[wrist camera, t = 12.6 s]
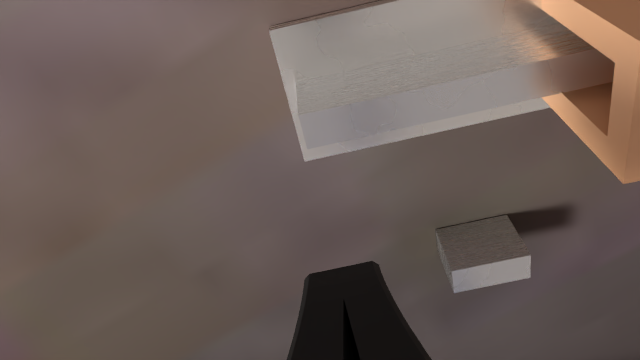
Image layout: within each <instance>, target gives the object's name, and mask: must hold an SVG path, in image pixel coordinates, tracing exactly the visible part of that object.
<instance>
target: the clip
mask: <svg viewBox="0 0 640 360" xmlns="http://www.w3.org/2000/svg"><path fill="white" fill-rule="evenodd" d="M541 9H542V10H543V11H545V12H546V13H547V14H549V15H550V16H551V17H553V18H554V19H556V20H557V21H558V22H560V23H561V24H562V25H564V26H565V27H567V28H568V29H569V30H571V31H572V32H573V33H575V34H576V35H578V36H579V37H580V38H582V39H583V40H584V41H586V42H587V43H589V44H590V45H591V46H593V47H594V48H595V49H597V50H598V51H600V52H601V53H602V54H604V55H605V56H606V57H608V58H609V59H611V60H612V61H613V62H615V68H614V77H613V82H609V83H605V84H600V85H596V86H591V87H587V88H582V89H578V90H573V91H569V92H564V93H559V94H555V95H550V96H546V97H542V99H543V100H544V101H545V102H546V103H547V104H548V105H549V106H550V107H551V108H552V109H553V110H554V111H555V112H556V113H557V114H558V115H559V116H560V118H561V119H562V120H563V121H564V122H565V123H566V124H567V125H568V126H569V127H570V128H571V129H572V130H573V131H574V132H575V133H576V134H577V135H578V137H579V138H580V139H581V140H582V141H583V142H584V143H585V144H586V145H587V146H588V147H589V148H590V149H591V150H592V151H593V152H594V153H595V154H596V156H597V157H598V158H599V159H600V160H601V161H602V162H603V163H604V164H605V165H606V166H607V167H608V168H609V169H610V170H611V171H612V172H613V173H614V174H615V176H616V177H617V178H618V179H619V180H620V181H621V182H622V183H623V184H626V183H631V182H635V181H640V0H542V5H541Z"/></svg>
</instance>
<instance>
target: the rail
mask: <svg viewBox="0 0 640 360" xmlns="http://www.w3.org/2000/svg"><path fill="white" fill-rule="evenodd" d="M541 5H542V0H381V1H376V2H372V3H368V4H364V5H359V6H355V7H351V8H347V9H342V10H338V11H334V12H330V13H326V14H321V15H317V16H313V17H309V18H304V19H300V20H296V21H292V22H287V23H283V24H279V25H275V26H270V27H269V32H270V36H271V40H272V43H273V47H274V51H275V54H276V58H277V62H278V65H279V69H280V73H281V76H282V80H283V84H284V87H285V91H286V95H287V98H288V102H289V106H290V109H291V113H292V117H293V120H294V124H295V128H296V131H297V135H298V139H299V142H300V146H301V150H302V153H303V157H304V161H309V160H314V159H318V158H323V157H327V156H332V155H337V154H341V153H346V152H350V151H355V150H359V149H364V148H368V147H373V146H377V145H382V144H386V143H391V142H396V141H400V140H405V139H409V138H414V137H418V136H423V135H427V134H432V133H436V132H441V131H445V130H450V129H455V128H459V127H464V126H468V125H473V124H477V123H482V122H486V121H491V120H495V119H500V118H504V117H509V116H514V115H518V114H523V113H527V112H532V111H536V110H541V109H545V108H550V106H549V105H548V104H547V103H546V102H545V101H544V100H543V99H542V97H546V96H550V95H555V94H559V93H564V92H569V91H573V90H578V89H582V88H587V87H591V86H596V85H600V84H605V83H609V82H613V77H614V68H615V62H613V61H612V60H611V59H609V58H608V57H606V56H605V55H604V54H602V53H601V52H600V51H598V50H597V49H595V48H594V47H593V46H591V45H590V44H589V43H587V42H586V41H584V40H583V39H582V38H580V37H579V36H578V35H576V34H575V33H573V32H572V31H571V30H569V29H568V28H567V27H565V26H564V25H562V24H561V23H560V22H558V21H557V20H556V19H554V18H553V17H551V16H550V15H549V14H547V13H546V12H545V11H543V10H542V9H541Z"/></svg>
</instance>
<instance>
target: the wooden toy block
mask: <svg viewBox="0 0 640 360" xmlns="http://www.w3.org/2000/svg"><path fill="white" fill-rule="evenodd" d="M436 239H437V247H438V252H439V255H440V257H441V260H442V263H443V265H444V268H445V271H446V273H447V276H448V279H449V281H450V284H451V287H452V289H453V292H454V293H457V292H462V291H466V290H471V289H476V288H481V287H486V286H491V285H496V284H501V283H506V282H511V281H516V280H521V279H526V278H530V263H531V255H530V253H529V252H528V250H527V248H526V246H525V245H524V243H523V241H522V240H521V238H520V236H519V235H518V233H517V231H516V229H515V228H514V226H513V224H512V223H511V221H510V219H509V217H508V216H507V215H503V216H498V217H493V218H489V219H484V220H479V221H474V222H470V223H465V224H460V225H455V226H450V227H446V228H441V229H436Z"/></svg>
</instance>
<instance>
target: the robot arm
mask: <svg viewBox="0 0 640 360" xmlns="http://www.w3.org/2000/svg"><path fill="white" fill-rule="evenodd" d="M287 360H432V359H431V358H430V357H429V355H428V354H427V352H426V351H425V349H424V348H423V346H422V345H421V343H420V342H419V340H418V339H417V337H416V336H415V334H414V333H413V331H412V330H411V328H410V327H409V325H408V323H407V322H406V320H405V318H404V317H403V315H402V313H401V312H400V310H399V308H398V306H397V304H396V303H395V301H394V299H393V297H392V295H391V293H390V291H389V289H388V287H387V285H386V283H385V281H384V278H383V276H382V273H381V271H380V267H379V264H377V263H375V262H373V261H370V262H365V263H360V264H356V265H351V266H346V267H341V268H336V269H332V270H327V271H322V272H317V273H312V274H309V275H308V276H307V277H306V279H305V281H304V290H303V296H302V302H301V307H300V311H299V316H298V320H297V324H296V328H295V333H294V337H293V340H292V344H291V347H290V350H289V354H288V357H287Z"/></svg>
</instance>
